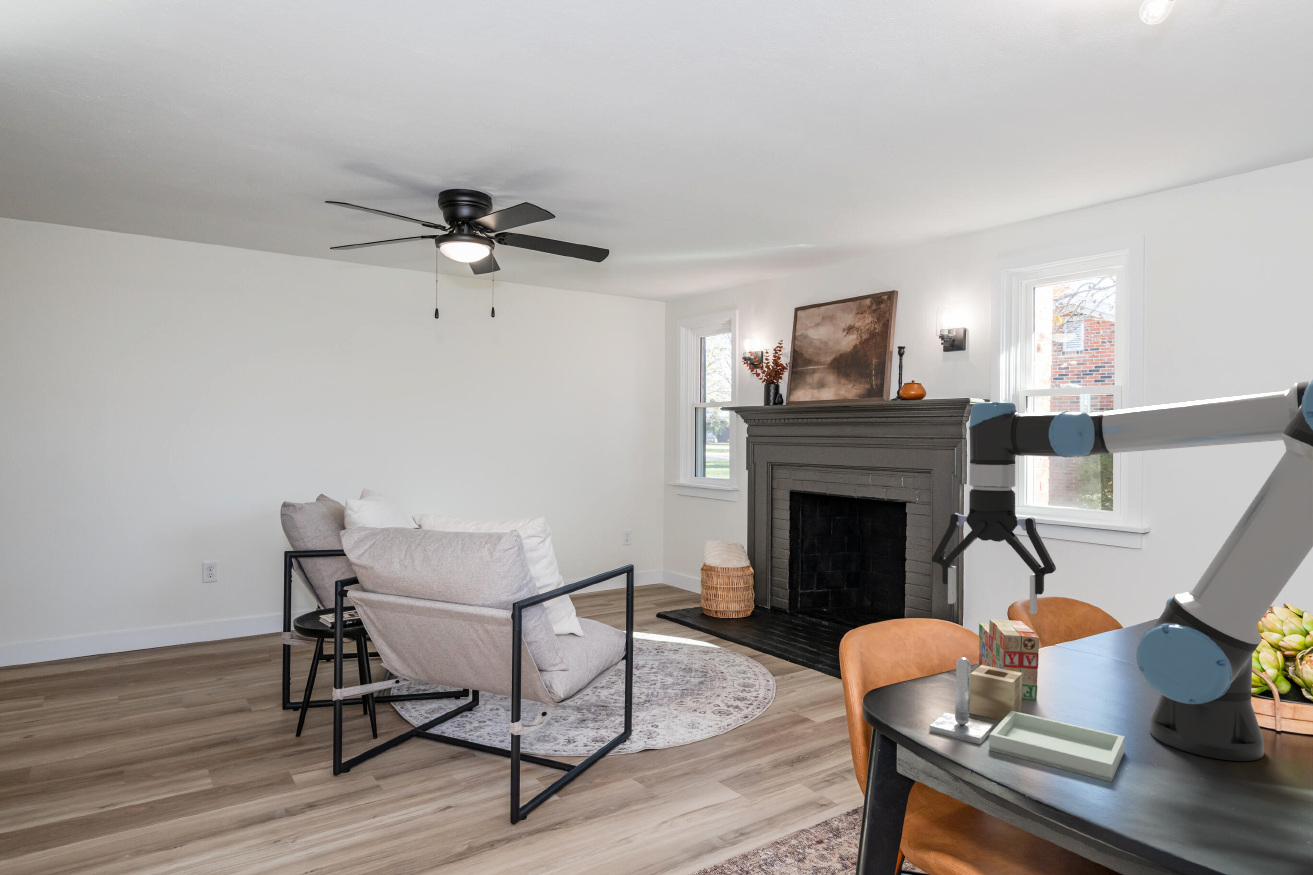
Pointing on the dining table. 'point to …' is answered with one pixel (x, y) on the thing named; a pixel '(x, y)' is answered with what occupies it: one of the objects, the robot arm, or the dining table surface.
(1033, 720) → the tray
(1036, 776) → the dining table surface
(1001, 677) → the oak block
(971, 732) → the post
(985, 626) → the stack of blocks
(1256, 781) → the dining table surface
